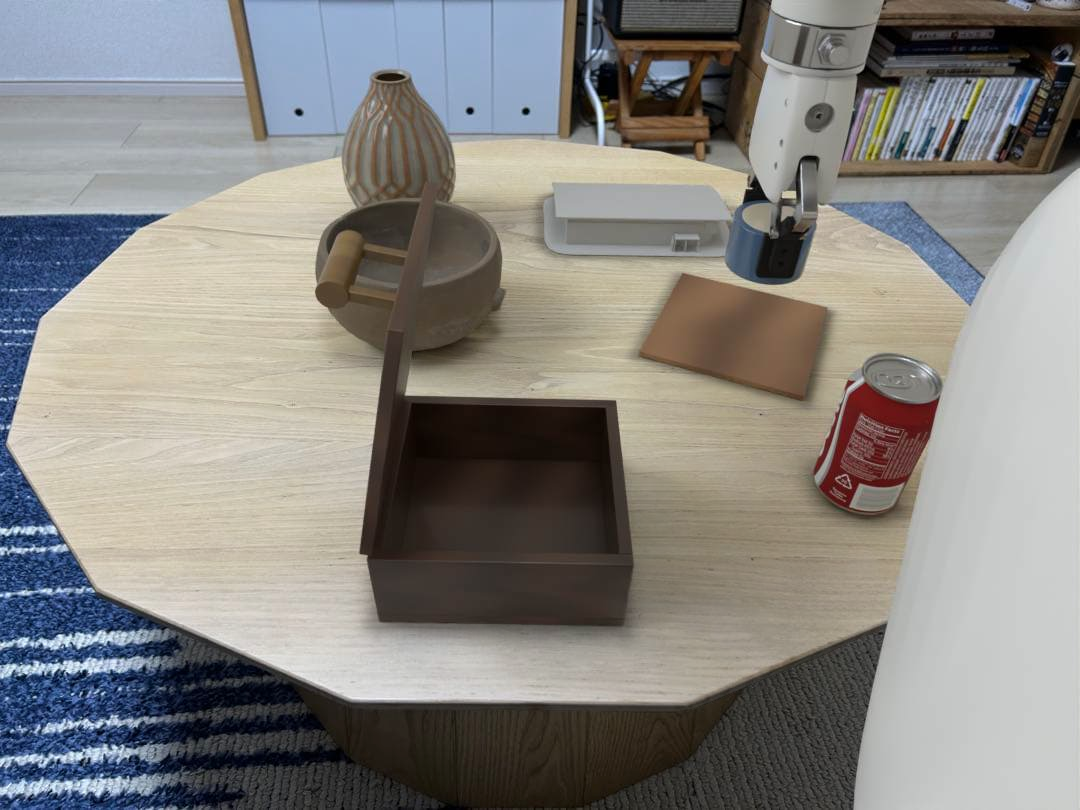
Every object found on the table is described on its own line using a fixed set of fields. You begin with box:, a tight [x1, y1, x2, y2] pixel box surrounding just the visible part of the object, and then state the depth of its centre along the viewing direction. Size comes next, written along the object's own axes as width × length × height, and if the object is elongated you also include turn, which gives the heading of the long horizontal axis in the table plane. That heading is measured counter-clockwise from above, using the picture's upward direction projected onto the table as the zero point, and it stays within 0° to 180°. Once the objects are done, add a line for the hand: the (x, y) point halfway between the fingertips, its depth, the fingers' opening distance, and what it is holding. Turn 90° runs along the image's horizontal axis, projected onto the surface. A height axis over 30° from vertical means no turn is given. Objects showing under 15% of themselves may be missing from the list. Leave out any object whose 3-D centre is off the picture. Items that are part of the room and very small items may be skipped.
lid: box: [314, 181, 438, 556], centre depth 47 cm, size 18×16×5 cm
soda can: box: [812, 352, 944, 516], centre depth 59 cm, size 7×7×12 cm
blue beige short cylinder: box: [724, 200, 818, 286], centre depth 67 cm, size 7×7×4 cm
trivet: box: [638, 272, 828, 401], centre depth 79 cm, size 16×16×1 cm
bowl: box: [314, 198, 507, 352], centre depth 75 cm, size 17×18×10 cm
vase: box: [341, 68, 457, 209], centre depth 89 cm, size 13×13×18 cm
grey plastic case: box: [542, 181, 733, 258], centre depth 94 cm, size 15×23×4 cm, turn 91°
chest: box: [366, 395, 635, 627], centre depth 56 cm, size 17×16×7 cm
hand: (763, 251), depth 68 cm, fingers closed on blue beige short cylinder, 7 cm apart
